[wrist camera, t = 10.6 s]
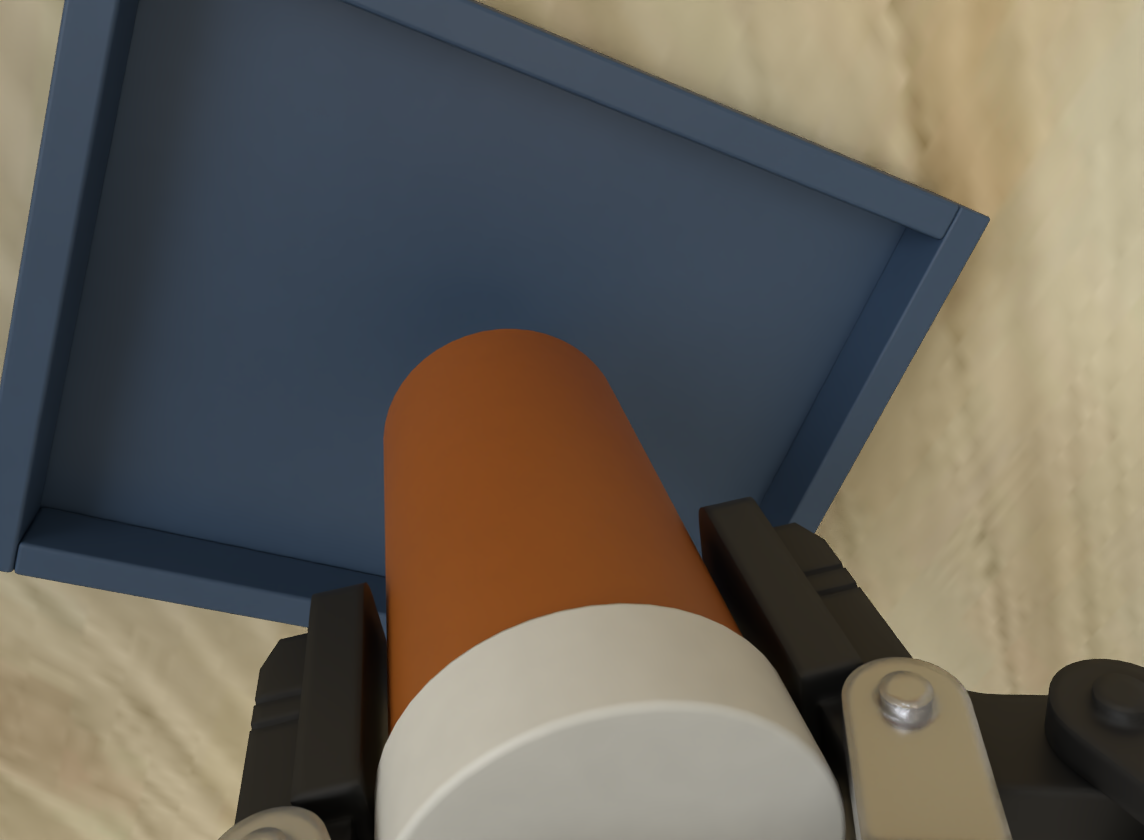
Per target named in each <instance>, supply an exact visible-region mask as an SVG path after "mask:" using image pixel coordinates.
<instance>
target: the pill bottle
mask: <svg viewBox="0 0 1144 840" xmlns="http://www.w3.org/2000/svg"><path fill="white" fill-rule="evenodd" d="M383 444H384V507H385V570H386V634H387V697H388V740H387V742H386V744H385V746H384V749H383V752H382V755H381V759H380V762H379V765H378V768H377V775H376V783H375V790H374V840H845V836H846V818H845V809H844V801H843V797H842V794H841V791H840V788H839V784H838V782H837V780H836V778H835V776H834V774H833V772H832V771H831V769H830V767H829V765H828V763H827V761H826V760H825V758H824V756H823V754H822V752H821V751H820V749H819V747H818V745H817V743H816V741H815V740H814V738H813V736H812V734H811V732H810V731H809V729H808V727H807V725H806V723H805V721H804V720H803V718H802V716H801V714H800V712H799V711H798V709H797V707H796V705H795V703H794V702H793V700H792V698H791V696H790V694H789V692H788V691H787V689H786V687H785V685H784V683H783V682H782V680H781V678H780V676H779V674H778V672H777V671H776V669H775V668H774V667H773V666H772V664H771V663H770V662H769V661H768V660H767V658H766V657H765V656H764V655H763V654H762V653H761V652H760V651H759V650H758V649H757V648H756V647H754V646H753V645H752V644H751V643H750V642H749V641H748V640H746V639H745V638H744V637H743V635H742V633H741V632H740V630H739V628H738V626H737V624H736V622H735V620H734V618H733V616H732V615H731V613H730V611H729V609H728V607H727V605H726V603H725V601H724V600H723V598H722V596H721V594H720V592H719V590H718V588H717V586H716V584H715V583H714V581H713V579H712V577H711V575H710V573H709V571H708V569H707V567H706V566H705V564H704V562H703V560H702V558H701V556H700V554H699V552H698V550H697V549H696V547H695V545H694V543H693V541H692V539H691V537H690V535H689V533H688V532H687V530H686V528H685V526H684V524H683V522H682V520H681V518H680V517H679V515H678V513H677V511H676V509H675V507H674V505H673V503H672V501H671V500H670V498H669V496H668V494H667V492H666V490H665V488H664V486H663V484H662V483H661V481H660V479H659V477H658V475H657V473H656V471H655V469H654V467H653V466H652V464H651V462H650V460H649V458H648V456H647V454H646V452H645V450H644V449H643V447H642V445H641V443H640V441H639V439H638V437H637V435H636V434H635V432H634V430H633V428H632V426H631V424H630V422H629V420H628V418H627V417H626V415H625V413H624V411H623V409H622V407H621V405H620V403H619V401H618V400H617V398H616V396H615V394H614V392H613V390H612V388H611V386H610V385H609V383H608V381H607V379H606V377H605V376H604V375H603V373H602V372H601V371H600V369H599V368H598V367H597V366H596V365H595V364H594V363H593V362H592V361H591V360H590V359H589V358H588V357H587V356H586V355H585V354H583V353H582V352H581V351H579V350H578V349H577V348H575V347H574V346H572V345H570V344H568V343H566V342H565V341H563V340H561V339H558V338H555V337H553V336H550V335H548V334H544V333H540V332H535V331H531V330H522V329H496V330H489V331H482V332H478V333H475V334H471V335H467V336H464V337H462V338H460V339H457V340H455V341H452V342H450V343H448V344H446V345H445V346H443V347H441V348H439V349H437V350H436V351H435V352H433V353H432V354H431V355H429V356H428V357H426V358H425V359H424V360H423V361H422V362H421V363H419V364H418V365H417V366H416V367H415V368H414V369H413V370H412V371H411V373H410V374H409V375H408V376H407V378H406V379H405V380H404V381H403V383H402V384H401V386H400V387H399V389H398V391H397V392H396V394H395V396H394V398H393V400H392V403H391V405H390V408H389V410H388V414H387V418H386V422H385V428H384V437H383Z"/></svg>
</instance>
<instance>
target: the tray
mask: <svg viewBox="0 0 1144 840" xmlns="http://www.w3.org/2000/svg"><path fill="white" fill-rule="evenodd" d="M989 221H990V218H989V217H988V216H985V215H983V214H981V213H979V212H976V211H974V210H972V209H970V208H967V207H965V206H963V205H961V204H958V203H956V202H954V201H952V200H949V199H947V198H945V197H943V196H940V195H938V194H936V193H933V192H931V191H929V190H926V189H924V188H921V187H919V186H917V185H914V184H912V183H910V182H907V181H905V180H902V179H900V178H898V177H895V176H893V175H890V174H888V173H886V172H883V171H881V170H879V169H876V168H874V167H871V166H869V165H867V164H864V163H862V162H859V161H857V160H855V159H852V158H850V157H847V156H845V155H843V154H840V153H838V152H836V151H833V150H831V149H828V148H826V147H824V146H821V145H819V144H816V143H814V142H812V141H809V140H807V139H804V138H802V137H800V136H797V135H795V134H793V133H790V132H788V131H785V130H783V129H781V128H778V127H776V126H773V125H771V124H769V123H766V122H764V121H762V120H759V119H757V118H754V117H752V116H750V115H747V114H745V113H742V112H740V111H738V110H735V109H733V108H730V107H728V106H726V105H723V104H721V103H719V102H716V101H714V100H711V99H709V98H707V97H704V96H702V95H699V94H697V93H695V92H692V91H690V90H687V89H685V88H683V87H680V86H678V85H676V84H673V83H671V82H668V81H666V80H664V79H661V78H659V77H656V76H654V75H652V74H649V73H647V72H644V71H642V70H640V69H637V68H635V67H633V66H630V65H628V64H625V63H623V62H621V61H618V60H616V59H613V58H611V57H609V56H606V55H604V54H602V53H599V52H597V51H594V50H592V49H590V48H587V47H585V46H582V45H580V44H578V43H575V42H573V41H570V40H568V39H566V38H563V37H561V36H559V35H556V34H554V33H551V32H549V31H547V30H544V29H542V28H539V27H537V26H535V25H532V24H530V23H527V22H525V21H523V20H520V19H518V18H516V17H513V16H511V15H508V14H506V13H504V12H501V11H499V10H496V9H494V8H492V7H489V6H487V5H484V4H482V3H480V2H477V1H475V0H65V2H64V8H63V14H62V20H61V26H60V31H59V37H58V43H57V49H56V55H55V61H54V67H53V73H52V79H51V85H50V91H49V97H48V103H47V109H46V115H45V121H44V127H43V133H42V139H41V145H40V151H39V157H38V163H37V169H36V175H35V181H34V187H33V193H32V199H31V205H30V211H29V216H28V222H27V228H26V234H25V240H24V246H23V252H22V258H21V264H20V270H19V276H18V282H17V288H16V294H15V300H14V306H13V312H12V318H11V324H10V330H9V336H8V342H7V348H6V354H5V360H4V366H3V372H2V378H1V384H0V571H3V572H12V571H13V570H15V573H17V574H20V575H25V576H31V577H36V578H41V579H47V580H52V581H58V582H63V583H69V584H74V585H79V586H85V587H90V588H96V589H101V590H107V591H112V592H117V593H123V594H128V595H134V596H139V597H145V598H150V599H156V600H161V601H166V602H172V603H177V604H183V605H188V606H194V607H199V608H204V609H210V610H215V611H221V612H226V613H232V614H237V615H242V616H248V617H253V618H259V619H264V620H270V621H275V622H281V623H286V624H291V625H297V626H302V627H308V624H309V614H310V604H311V598H312V595H313V594H316V593H320V592H324V591H329V590H333V589H338V588H342V587H347V586H351V585H355V584H360V583H364V582H367V583H368V585H369V587H370V589H371V592H372V595H373V598H374V601H375V605H376V608H377V611H378V614H379V618H380V621H381V624H382V627H383V631H384V634H385V637H386V640H387V634H386V570H385V507H384V444H383V437H384V428H385V422H386V418H387V414H388V410H389V408H390V405H391V403H392V400H393V398H394V396H395V394H396V392H397V391H398V389H399V387H400V386H401V384H402V383H403V381H404V380H405V379H406V378H407V376H408V375H409V374H410V373H411V371H412V370H413V369H414V368H415V367H416V366H417V365H418V364H419V363H421V362H422V361H423V360H424V359H425V358H426V357H428V356H429V355H431V354H432V353H433V352H435V351H436V350H437V349H439V348H441V347H443V346H445V345H446V344H448V343H450V342H452V341H455V340H457V339H460V338H462V337H464V336H467V335H471V334H475V333H478V332H482V331H489V330H496V329H522V330H531V331H535V332H540V333H544V334H548V335H550V336H553V337H555V338H558V339H561V340H563V341H565V342H566V343H568V344H570V345H572V346H574V347H575V348H577V349H578V350H579V351H581V352H582V353H583V354H585V355H586V356H587V357H588V358H589V359H590V360H591V361H592V362H593V363H594V364H595V365H596V366H597V367H598V368H599V369H600V371H601V372H602V373H603V375H604V376H605V377H606V379H607V381H608V383H609V385H610V386H611V388H612V390H613V392H614V394H615V396H616V398H617V400H618V401H619V403H620V405H621V407H622V409H623V411H624V413H625V415H626V417H627V418H628V420H629V422H630V424H631V426H632V428H633V430H634V432H635V434H636V435H637V437H638V439H639V441H640V443H641V445H642V447H643V449H644V450H645V452H646V454H647V456H648V458H649V460H650V462H651V464H652V466H653V467H654V469H655V471H656V473H657V475H658V477H659V479H660V481H661V483H662V484H663V486H664V488H665V490H666V492H667V494H668V496H669V498H670V500H671V501H672V503H673V505H674V507H675V509H676V511H677V513H678V515H679V517H680V518H681V520H682V522H683V524H684V526H685V528H686V530H687V532H688V533H689V535H690V537H691V539H692V541H693V543H694V545H695V547H696V549H697V550H698V552H699V554H700V556H701V558H702V551H701V541H700V530H699V509H700V508H701V507H705V506H709V505H714V504H718V503H723V502H727V501H732V500H736V499H741V498H745V497H752V498H753V499H754V500H755V501H756V503H757V504H758V506H759V507H760V509H761V510H762V512H763V513H764V515H765V516H766V518H767V519H768V521H769V522H770V524H771V525H772V527H777V526H781V525H786V524H790V523H794V522H795V523H797V524H799V525H801V526H802V527H804V528H806V529H807V530H809V531H811V532H812V533H815V532H816V530H817V528H818V526H819V524H820V523H821V521H822V519H823V517H824V516H825V514H826V512H827V510H828V508H829V507H830V505H831V503H832V501H833V499H834V498H835V496H836V494H837V492H838V491H839V489H840V487H841V485H842V483H843V482H844V480H845V478H846V476H847V474H848V473H849V471H850V469H851V467H852V466H853V464H854V462H855V460H856V458H857V457H858V455H859V453H860V451H861V449H862V448H863V446H864V444H865V442H866V441H867V439H868V437H869V435H870V433H871V432H872V430H873V428H874V426H875V424H876V423H877V421H878V419H879V417H880V416H881V414H882V412H883V410H884V408H885V407H886V405H887V403H888V401H889V399H890V398H891V396H892V394H893V392H894V391H895V389H896V387H897V385H898V383H899V382H900V380H901V378H902V376H903V374H904V373H905V371H906V369H907V367H908V366H909V364H910V362H911V360H912V358H913V357H914V355H915V353H916V351H917V350H918V348H919V346H920V344H921V342H922V341H923V339H924V337H925V335H926V333H927V332H928V330H929V328H930V326H931V325H932V323H933V321H934V319H935V317H936V316H937V314H938V312H939V310H940V308H941V307H942V305H943V303H944V301H945V300H946V298H947V296H948V294H949V292H950V291H951V289H952V287H953V285H954V283H955V282H956V280H957V278H958V276H959V275H960V273H961V271H962V269H963V267H964V266H965V264H966V262H967V260H968V258H969V257H970V255H971V253H972V251H973V250H974V248H975V246H976V244H977V242H978V241H979V239H980V237H981V235H982V233H983V232H984V230H985V228H986V226H987V225H988V223H989Z"/></svg>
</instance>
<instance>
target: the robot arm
mask: <svg viewBox="0 0 1144 840" xmlns="http://www.w3.org/2000/svg"><path fill="white" fill-rule="evenodd" d="M699 530H700V541H701V551H702V560H703V562H704V564H705V566H706V567H707V569H708V571H709V573H710V575H711V577H712V579H713V581H714V583H715V584H716V586H717V588H718V590H719V592H720V594H721V596H722V598H723V600H724V601H725V603H726V605H727V607H728V609H729V611H730V613H731V615H732V616H733V618H734V620H735V622H736V624H737V626H738V628H739V630H740V632H741V633H742V635H743V637H744V638H745V639H746V640H748V641H749V642H750V643H751V644H752V645H753V646H754V647H756V648H757V649H758V650H759V651H760V652H761V653H762V654H763V655H764V656H765V657H766V658H767V660H768V661H769V662H770V663H771V664H772V666H773V667H774V668H775V669H776V671H777V672H778V674H779V676H780V678H781V680H782V682H783V683H784V685H785V687H786V689H787V691H788V692H789V694H790V696H791V698H792V700H793V702H794V703H795V705H796V707H797V709H798V711H799V712H800V714H801V716H802V718H803V720H804V721H805V723H806V725H807V727H808V729H809V731H810V732H811V734H812V736H813V738H814V740H815V741H816V743H817V745H818V747H819V749H820V751H821V752H822V754H823V756H824V758H825V760H826V761H827V763H828V765H829V767H830V769H831V771H832V772H833V774H834V776H835V778H836V780H837V782H838V784H839V788H840V791H841V794H842V797H843V801H844V809H845V818H846V836H845V840H1144V667H1141V666H1138V665H1135V664H1132V663H1127V662H1123V661H1118V660H1110V659H1090V660H1083V661H1079V662H1075V663H1072V664H1070V665H1067V666H1065V667H1064V668H1062V669H1061V670H1060V671H1058V672H1057V673H1056V675H1055V676H1054V677H1053V679H1052V681H1051V683H1050V687H1049V694H1048V695H999V694H983V693H977V692H972V691H968V690H966V689H965V688H964V686H963V685H962V684H961V683H960V682H959V681H958V680H957V679H956V678H955V677H954V676H953V675H951V674H950V673H949V672H947V671H945V670H944V669H942V668H940V667H938V666H936V665H934V664H931V663H929V662H925V661H922V660H919V659H913V658H912V657H911V655H910V654H909V653H908V651H907V650H906V649H905V647H904V646H903V645H902V643H901V642H900V641H899V639H898V638H897V637H896V635H895V634H894V632H893V631H892V630H891V628H890V627H889V626H888V624H887V623H886V622H885V620H884V619H883V618H882V616H881V615H880V614H879V612H878V611H877V610H876V608H875V607H874V606H873V604H872V603H871V602H870V600H869V599H868V598H867V596H866V595H865V594H864V592H863V591H862V589H861V588H860V587H859V588H858V587H857V585H856V581H855V580H854V579H853V577H852V576H851V575H850V573H849V572H848V571H847V569H846V568H843V566H842V563H841V561H840V560H839V559H838V557H837V556H836V555H835V553H834V552H833V551H832V549H831V548H830V546H829V545H828V544H827V542H826V541H825V540H824V539H823V538H821V537H819V536H817V535H816V534H814V533H812V532H811V531H809V530H807V529H806V528H804V527H802V526H801V525H799V524H797V523H795V522H794V523H790V524H786V525H781V526H777V527H772V525H771V524H770V522H769V521H768V519H767V518H766V516H765V515H764V513H763V512H762V510H761V509H760V507H759V506H758V504H757V503H756V501H755V500H754V499H753V498H752V497H745V498H741V499H736V500H732V501H727V502H723V503H718V504H714V505H709V506H705V507H701V508H700V509H699ZM255 701H256V705H255V706H254V709H253V715H252V721H251V726H252V731H250V734H249V740H248V746H247V752H246V758H245V764H244V770H243V777H242V783H241V789H240V795H239V801H238V807H237V813H236V819H235V825H234V826H233V827H231V828H230V829H229V830H228V831H227V832H225V833H224V834H223V835H222V836H221V837H220V838H219V839H218V840H374V790H375V783H376V775H377V768H378V765H379V762H380V759H381V755H382V752H383V749H384V746H385V744H386V742H387V740H388V697H387V640H386V637H385V634H384V631H383V627H382V624H381V621H380V618H379V614H378V611H377V608H376V605H375V601H374V598H373V595H372V592H371V589H370V587H369V585H368V583H367V582H364V583H360V584H355V585H351V586H347V587H342V588H338V589H333V590H329V591H324V592H320V593H316V594H313V595H312V598H311V604H310V614H309V624H308V633H306V634H302V635H297V636H293V637H289V638H284V639H280V640H279V642H278V643H277V645H276V646H275V648H274V649H273V651H272V652H271V654H270V655H269V657H268V658H267V660H266V661H265V663H264V664H263V666H262V667H261V669H260V673H259V679H258V685H257V691H256V697H255Z"/></svg>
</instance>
